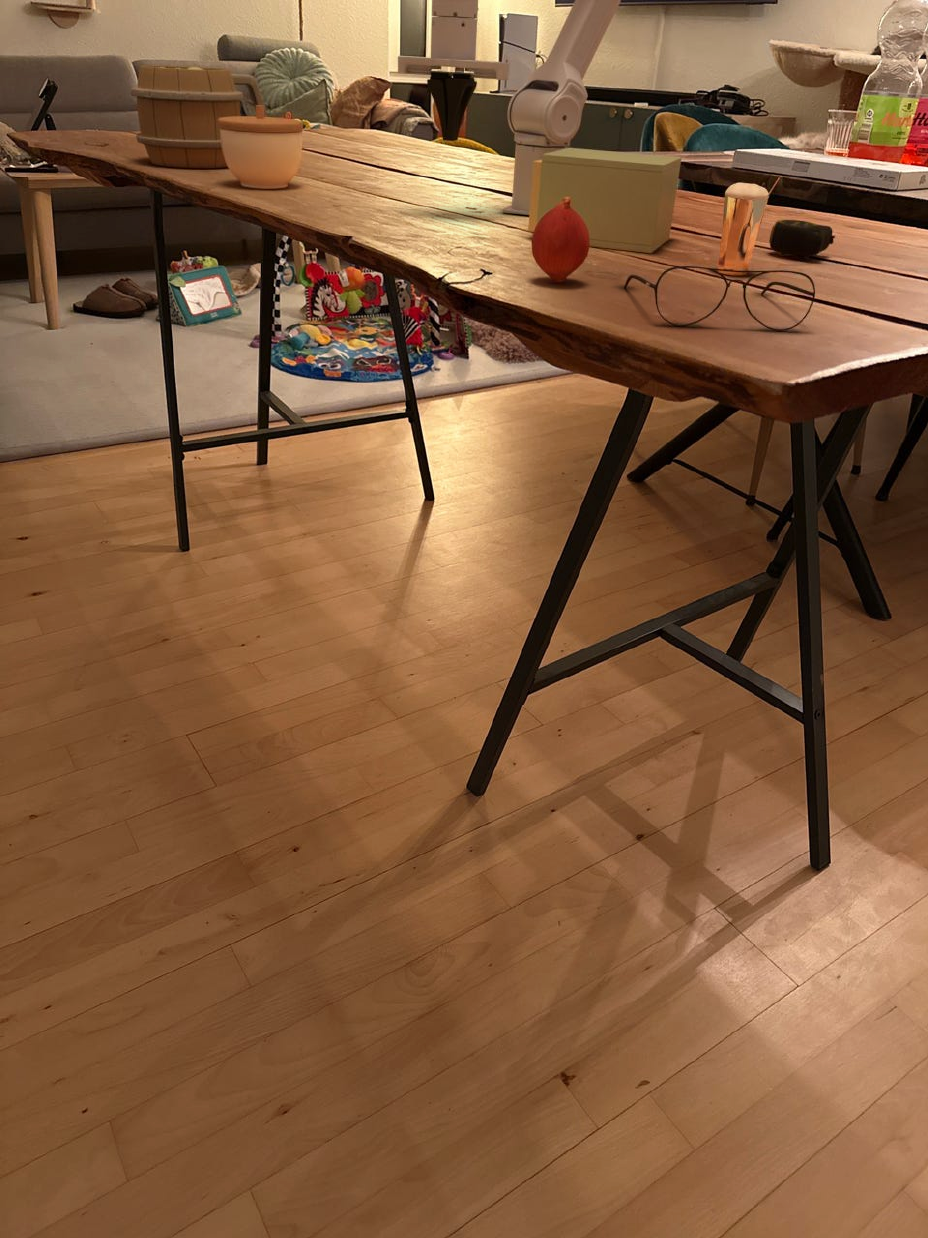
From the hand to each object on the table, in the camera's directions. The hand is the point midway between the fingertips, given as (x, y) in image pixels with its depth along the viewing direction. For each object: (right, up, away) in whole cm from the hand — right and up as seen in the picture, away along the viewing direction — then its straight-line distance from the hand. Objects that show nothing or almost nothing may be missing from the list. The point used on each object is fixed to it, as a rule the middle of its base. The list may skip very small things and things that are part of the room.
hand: (450, 140), depth 123 cm
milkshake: (+32, -25, -20) cm, 45 cm away
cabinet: (+20, -15, -5) cm, 25 cm away
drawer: (+17, -14, -5) cm, 23 cm away
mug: (-44, +19, +45) cm, 66 cm away
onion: (+11, -29, -28) cm, 42 cm away
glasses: (+25, -34, -35) cm, 55 cm away
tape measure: (+43, -19, -8) cm, 48 cm away
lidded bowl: (-29, +4, +23) cm, 38 cm away
